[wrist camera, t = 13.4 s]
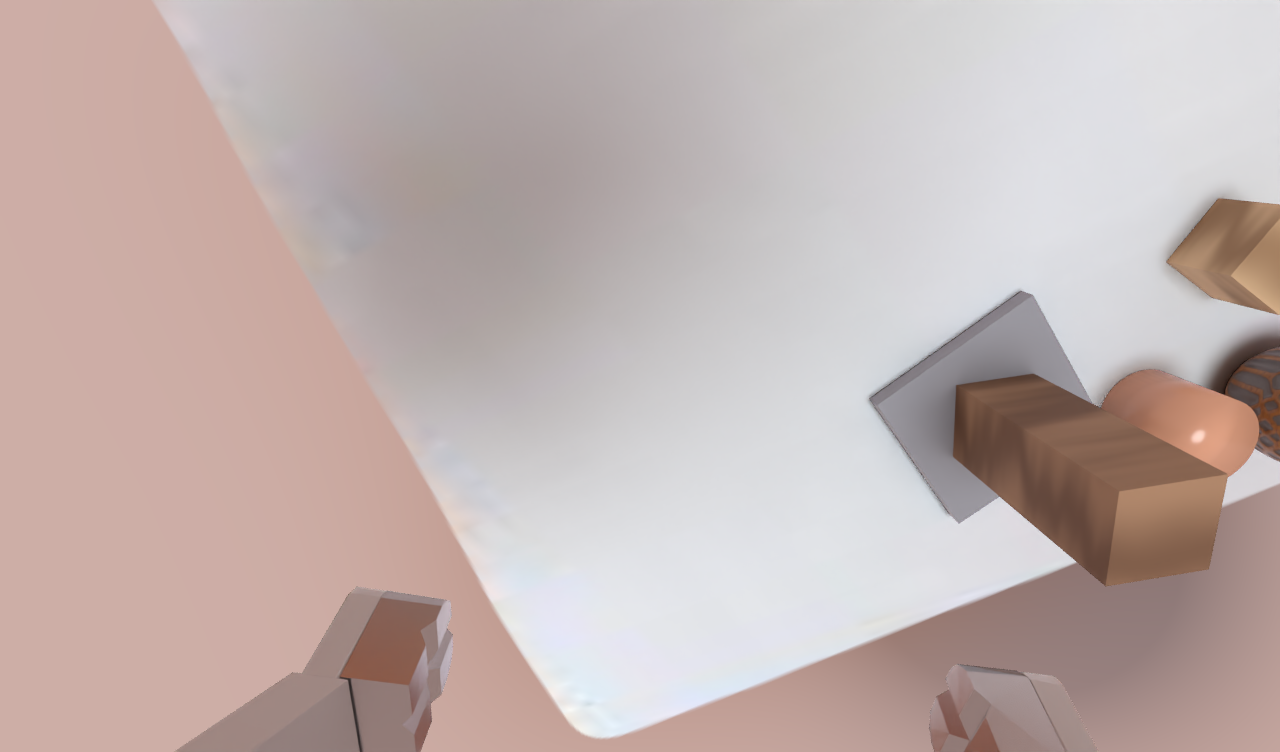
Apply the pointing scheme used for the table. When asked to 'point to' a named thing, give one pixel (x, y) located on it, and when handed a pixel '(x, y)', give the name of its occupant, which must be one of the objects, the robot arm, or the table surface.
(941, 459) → the grey pad
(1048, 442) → the walnut block
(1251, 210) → the oak cube
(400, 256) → the table surface
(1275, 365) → the vase
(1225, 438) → the peach rounded cylinder
